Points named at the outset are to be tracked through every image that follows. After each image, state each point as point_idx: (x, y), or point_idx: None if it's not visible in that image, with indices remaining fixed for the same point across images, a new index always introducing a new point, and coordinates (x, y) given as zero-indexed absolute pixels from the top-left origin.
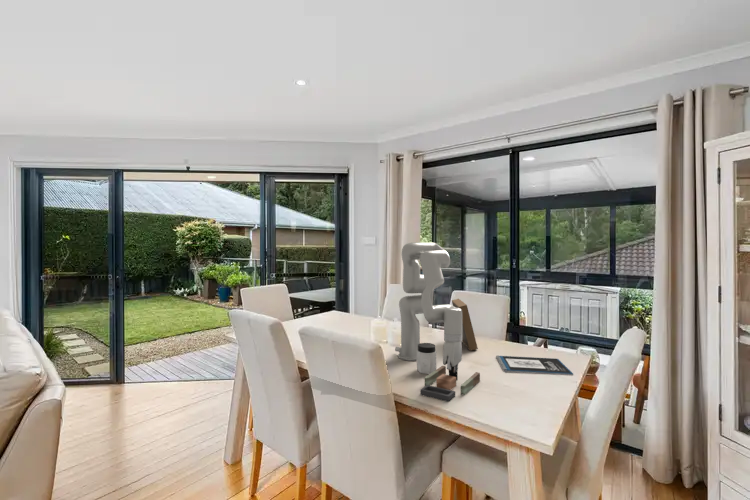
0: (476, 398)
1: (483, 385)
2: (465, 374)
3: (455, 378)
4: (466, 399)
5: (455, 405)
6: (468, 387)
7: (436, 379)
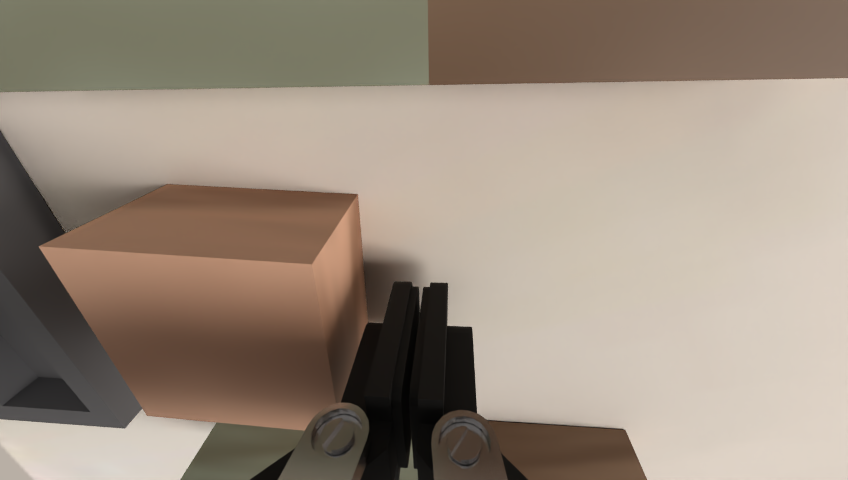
0: None
1: None
2: (814, 323)
3: None
4: (191, 441)
5: None
6: None
7: (66, 234)
